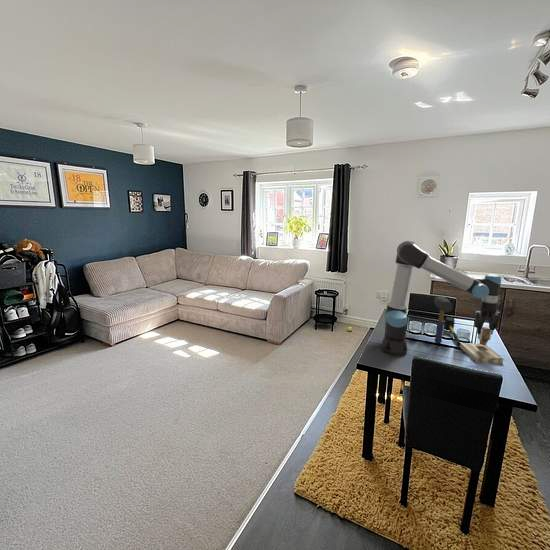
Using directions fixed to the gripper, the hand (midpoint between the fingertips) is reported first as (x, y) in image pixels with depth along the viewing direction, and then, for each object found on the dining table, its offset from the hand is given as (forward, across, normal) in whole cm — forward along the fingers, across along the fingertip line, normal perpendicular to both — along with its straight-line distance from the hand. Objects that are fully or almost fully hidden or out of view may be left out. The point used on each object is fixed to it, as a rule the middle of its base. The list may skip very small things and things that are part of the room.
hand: (483, 339), depth 176 cm
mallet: (+9, -7, +21) cm, 24 cm away
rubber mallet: (+9, -20, +11) cm, 25 cm away
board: (+9, -2, -3) cm, 10 cm away
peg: (+3, 0, 0) cm, 3 cm away
